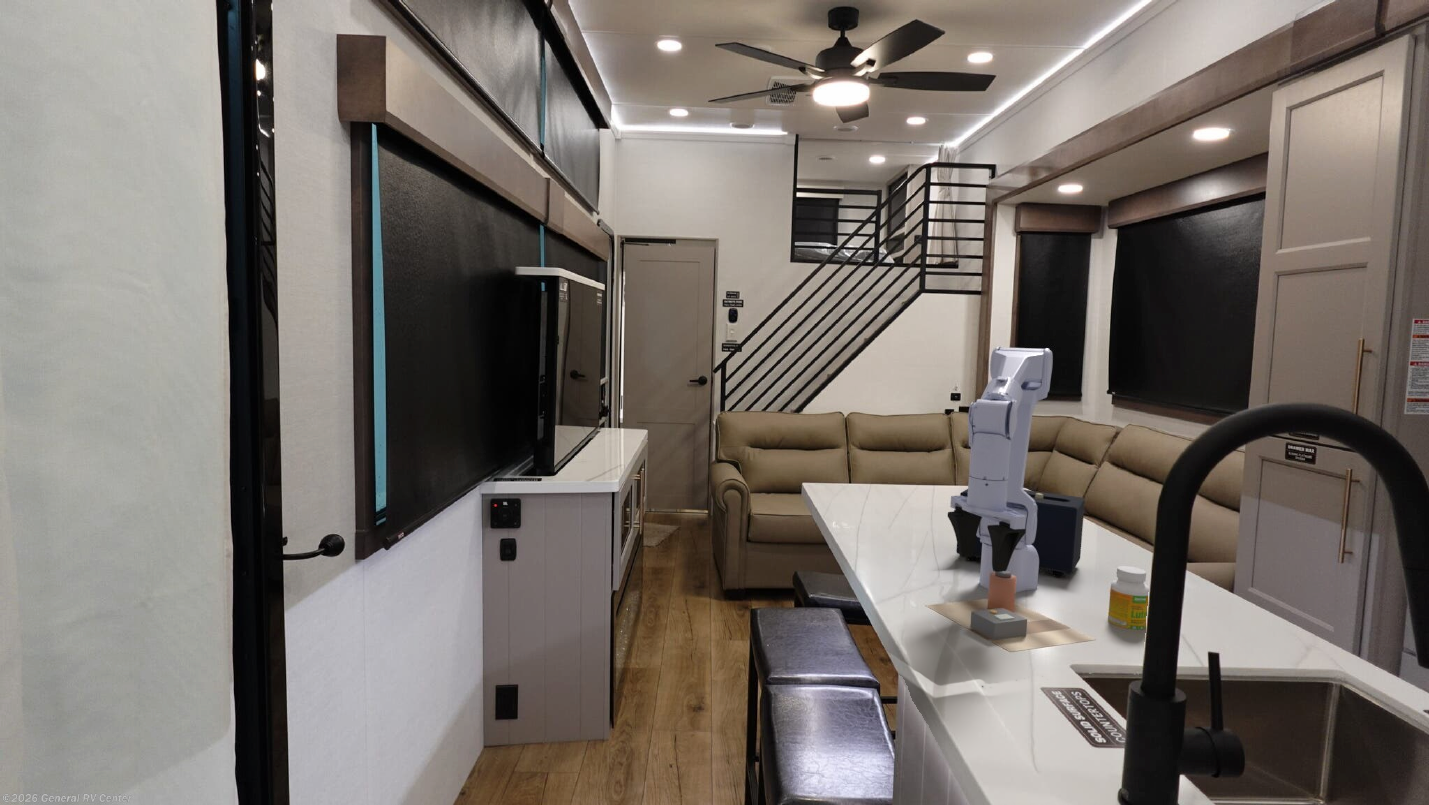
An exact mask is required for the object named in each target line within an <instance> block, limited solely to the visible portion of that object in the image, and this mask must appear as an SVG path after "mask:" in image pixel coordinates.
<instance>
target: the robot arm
mask: <svg viewBox="0 0 1429 805" xmlns="http://www.w3.org/2000/svg"><path fill="white" fill-rule="evenodd" d="M1053 358H1054V357H1053V351H1052V350H1050V348H1047V347H1046V348H1030V347H1029V348H1027V347H1026V348H1025V347H1005V346H1004V347H1002V346H995V348H994V349H993V350H992V351H991V355H990V362H989V372H990V377H991V379H990V381H989V382H988V383H987V385H986V387H985V389H984V391H983V393H982V395H981V397H980V398H978V399H976V402H975V401H972V402H971V403H970V405H969V409H968V415H967V428H968V447H970V454H969V469H968V470H969V471H968V485H967V487H968V488H967V489H968V497H964V496H961V495H960V494H958V495H950V504H949V505H950V508H951V509H954V510H953V511H948V512H947V518H948V520H949V521H950V524H951V526H952V528H953V532H954V535H955V539H956V545H957V544H958V550H959V554H958V555H959V557H961V558H967V557H972V556H973V553H974V549H975V541H976V535H977V537H979V538H980V542H982V555H981V558H980V571H979V572H980V573H979V585H980V586H981V587H983V588H985V589H987V590H989V579H990V573H992V572H1001V571H1009V572H1011V574H1012V575H1014V576H1016V577H1017V580H1016V593H1020V592H1023V591H1030V590H1038V582H1039V581H1038V580H1039V569H1040V568H1039V557H1038V553H1037V551H1036V549H1035V548H1034V547H1033V546H1032V545H1031V544H1032V543H1033V542H1034V540H1035V536H1036V529H1037V505H1036V502H1035V501H1034V499H1032V498H1031V497H1030V496H1029V495H1028V494H1027V493H1026V492H1025V491H1024V490H1025V489H1024V484H1025V482H1024V481H1025V476H1026V467H1027V461H1028V460H1027V458H1028V452H1029V446H1030V445H1029V444H1030V437H1031V436H1030V435H1031V429H1032V428H1031V427H1032V419H1033V414H1034V410H1035V408H1036V405H1037V402H1040V401H1042V400H1043V399H1046V398H1047V397H1048V393H1049V392H1050V387H1051V378H1052V374H1053V372H1052V371H1053V360H1054V359H1053ZM1007 506H1011V507H1007ZM1013 507H1019V508H1013ZM1020 508H1024V509H1020Z"/></svg>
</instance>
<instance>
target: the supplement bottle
mask: <svg viewBox="0 0 1429 805" xmlns="http://www.w3.org/2000/svg"><path fill="white" fill-rule="evenodd" d="M1116 578H1117V579H1114V580H1112V582H1111V584H1110V590H1109V602H1108V604H1109V606H1108V612H1107V613H1108V615H1107V621H1108V622H1109V623H1111V624H1113V625H1115V626H1117V627H1121V628H1124V629H1125V628H1126V629H1131V630H1144V629H1146V628H1147V627H1146V616H1147V606H1148V592H1149V589H1150V587H1149V586H1148V585H1147V584H1145V582H1146V581H1147V580H1146V578H1147V571H1145V570H1144V569H1142V568H1139V567H1136V566H1129V565H1127V566H1126V565H1119V566H1117V569H1116Z"/></svg>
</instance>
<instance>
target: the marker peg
mask: <svg viewBox="0 0 1429 805" xmlns="http://www.w3.org/2000/svg"><path fill="white" fill-rule="evenodd" d="M1016 580H1017V577H1016V576H1014V575H1012V574H1011V572H1009V571H1001V572H992V573H990V579H989V589H988V592H987V593H988V594H987V599H988V607H987V610H988V609H997V608H1004V609H1007V610H1009V611H1011V612H1013V613H1014V606H1015V603H1016V593H1017V592H1016Z"/></svg>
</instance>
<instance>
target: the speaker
mask: <svg viewBox="0 0 1429 805" xmlns="http://www.w3.org/2000/svg"><path fill="white" fill-rule="evenodd" d="M1023 490H1024V491H1025V492H1026V493H1027V494H1028V495H1029V496H1030V497H1031V498H1032V499H1034V501H1035V502H1036V505H1037V529H1036V536H1035V540H1034V542H1033V543H1032V544H1031V545H1032V546H1033V547H1034V548H1035V549H1036V551H1037V553H1038V557H1039V569H1041V570H1046V571H1051V574H1052V576H1054V577H1057V578H1062V577H1063V576H1064V574H1068V575H1071V574H1072V573H1073V572H1074V571H1075V569H1076V567H1077V564H1078V563H1079V561H1080V560H1081V552H1082V539H1083V528H1084V515H1085V502H1086V498H1084V497H1081V496H1074V495H1066V494H1058V493H1050V492H1044V491H1036V490H1030V489H1029V490H1027V489H1023ZM959 495H961V496H964V497H968V488H966V489H965V490H963V491H961V492H960V493H959ZM1007 507H1011V506H1007ZM1013 508H1019V507H1013ZM1020 509H1024V508H1020ZM955 552H956V554H958V555H959V550H958V544H957V543H956V551H955ZM981 555H982V542H980V538H979V537H977V535H976V541H975V549H974V553H973V556H972V557H966V558H967V561H970V562H976V561H977V558H979V559H981Z"/></svg>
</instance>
